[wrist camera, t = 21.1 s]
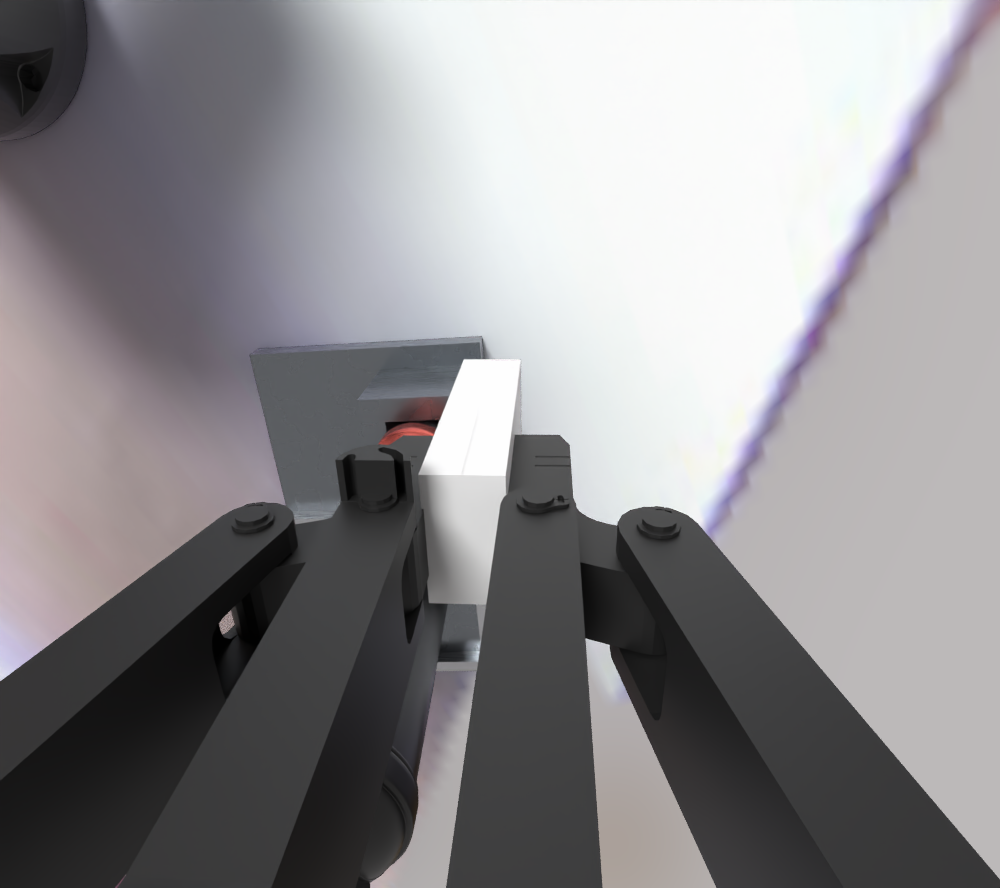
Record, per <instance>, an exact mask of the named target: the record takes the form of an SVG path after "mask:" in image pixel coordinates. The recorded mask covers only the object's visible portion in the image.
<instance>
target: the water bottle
mask: <svg viewBox="0 0 1000 888" xmlns="http://www.w3.org/2000/svg"><path fill="white" fill-rule="evenodd" d="M423 606H424V624H423V628H422V632H421V636H420V640H419V644H418V648H417V652H416V656H415V659H414V663H413V667H412V671H411V675H410V679H409V683H408V687H407V691H406V694H405V698H404V702H403V706H402V710H401V714H400V718H399V722H398V725H397V729H396V733H395V737H394V741H393V745H392V749H391V753H390V757H389V760H388V764H387V768H386V772H385V776H384V780H383V784H382V788H381V792H380V795H379V799H378V803H377V807H376V811H375V815H374V819H373V823H372V827H371V830H370V834H369V838H368V842H367V846H366V850H365V854H364V858H363V862H362V865H361V869H360V873H359V877H358V881H357V885H356V888H370V882H372V881H373V880H375V879H376V878H378V877H379V876H381V875H382V874H383V873H384V872H385V871H386V870H387V869H388V868H389V866H391V865H392V864H394V863H395V862H396V861H397V860H398V859H399V858H400V857H401V856H402V855H403V853H404V852H405V851H406V849H407V847H408V845H409V843H410V841H411V838H412V834H413V830H414V825H415V820H416V815H417V810H418V786H417V775H418V770H419V764H420V758H421V753H422V747H423V742H424V736H425V730H426V725H427V719H428V713H429V708H430V702H431V696H432V691H433V685H434V679H435V674H436V668H437V662H438V657H439V651H440V646H441V640H442V634H443V629H444V623H445V617H446V612H447V606H448V604H443V603H429V598H428V586H427V584H426V588H425V591H424V595H423Z"/></svg>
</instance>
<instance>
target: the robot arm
mask: <svg viewBox="0 0 1000 888" xmlns="http://www.w3.org/2000/svg"><path fill="white" fill-rule="evenodd" d="M86 45H87V30H86V18H85V10H84V5H83V0H0V141H6V140H15V139H20V138H24V137H27V136H30V135H33V134H35V133H37V132H39V131H41V130H43V129H44V128H46V127H47V126H49V125H50V124H51V123H53V122H54V121H55V120H56V119H57V118H58V117H59V116H60V115H61V114H62V113H63V112H64V110H65V109H66V108H67V106H68V105H69V103H70V102H71V100H72V98H73V96H74V94H75V92H76V90H77V88H78V85H79V83H80V80H81V76H82V73H83V68H84V64H85V57H86ZM335 462H336V469H337V476H338V483H339V490H340V497H341V502H340V504H339V506H338V508H337V509H336V511H335V513H334V514H333V516H332V518H328V519H323V520H319V521H313V522H306V523H300V524H295V520H294V514H293V512H292V511H291V510H290V509H289V508H288V507H287V506H284V505H281V504H278V503H265V502H259V503H256V504H255V503H252V504H247V505H245V506H243V507H240V508H237V509H234V510H232V511H230V512H228V513H227V514H225V515H223V516H221V517H220V518H219V519H217V520H216V521H215V522H213V523H212V524H211V525H209V526H208V527H207V528H205V529H204V530H203V531H201V532H200V533H199V534H197V535H196V536H195V537H193V538H192V539H191V540H189V541H188V542H187V543H185V544H184V545H183V546H181V547H180V548H179V549H177V550H176V551H174V552H173V553H172V554H170V555H169V556H168V557H166V558H165V559H164V560H162V561H161V562H160V563H158V564H157V565H156V566H154V567H153V568H152V569H150V570H149V571H148V572H146V573H145V574H144V575H142V576H141V577H140V578H138V579H137V580H136V581H134V582H133V583H132V584H130V585H129V586H128V587H126V588H125V589H124V590H122V591H121V592H120V593H118V594H117V595H116V596H114V597H113V598H112V599H110V600H109V601H107V602H106V603H105V604H103V605H102V606H101V607H99V608H98V609H97V610H95V611H94V612H93V613H91V614H90V615H89V616H87V617H86V618H85V619H83V620H82V621H81V622H79V623H78V624H77V625H75V626H74V627H73V628H71V629H70V630H69V631H67V632H66V633H65V634H63V635H62V636H61V637H59V638H58V639H57V640H55V641H54V642H53V643H51V644H50V645H49V646H47V647H46V648H45V649H43V650H42V651H40V652H39V653H38V654H36V655H35V656H34V657H32V658H31V659H30V660H28V661H27V662H26V663H24V664H23V665H22V666H20V667H19V668H18V669H16V670H15V671H14V672H12V673H11V674H10V675H8V676H7V677H6V678H4V679H3V680H2V681H0V888H115V887H116V886H117V885H118V884H119V882H120V881H121V880H122V879H123V878H124V879H123V880H122V881H121V883H120V884H119V886H118V887H117V888H356V885H357V881H358V877H359V873H360V869H361V865H362V862H363V858H364V854H365V850H366V846H367V842H368V838H369V834H370V830H371V827H372V823H373V819H374V815H375V811H376V807H377V803H378V799H379V795H380V792H381V788H382V784H383V780H384V776H385V772H386V768H387V764H388V760H389V757H390V753H391V749H392V745H393V741H394V737H395V733H396V729H397V725H398V722H399V718H400V714H401V710H402V706H403V702H404V698H405V694H406V691H407V687H408V683H409V679H410V675H411V671H412V667H413V663H414V659H415V656H416V652H417V648H418V644H419V640H420V636H421V632H422V628H423V624H424V606H423V595H424V591H425V588H426V584H427V586H428V598H429V603H443V604H480V605H486V609H485V617H484V624H483V631H482V638H481V645H480V652H479V659H478V666H477V673H476V680H475V687H474V694H473V702H472V709H471V717H470V723H469V730H468V738H467V744H466V751H465V758H464V765H463V773H462V780H461V787H460V794H459V801H458V808H457V815H456V823H455V830H454V836H453V843H452V851H451V857H450V864H449V873H448V879H447V886H446V888H602V875H601V860H600V846H599V831H598V817H597V802H596V789H595V773H594V759H593V744H592V729H591V716H590V701H589V685H588V671H587V656H586V641H585V638H587V639H590V640H594V641H598V642H601V643H605V644H609V645H610V652H611V658H612V660H613V662H614V664H615V667H616V669H617V671H618V673H619V675H620V677H621V680H622V682H623V684H624V686H625V688H626V691H627V693H628V695H629V697H630V699H631V702H632V704H633V706H634V708H635V710H636V712H637V715H638V717H639V719H640V721H641V723H642V726H643V728H644V730H645V732H646V734H647V737H648V739H649V741H650V743H651V745H652V747H653V750H654V752H655V754H656V756H657V758H658V761H659V763H660V765H661V767H662V769H663V772H664V774H665V776H666V778H667V780H668V783H669V785H670V787H671V789H672V791H673V793H674V795H675V798H676V800H677V802H678V804H679V807H680V809H681V811H682V813H683V815H684V818H685V820H686V822H687V824H688V826H689V828H690V830H691V833H692V835H693V837H694V839H695V841H696V844H697V846H698V848H699V850H700V853H701V855H702V857H703V859H704V861H705V863H706V866H707V868H708V870H709V872H710V874H711V877H712V879H713V881H714V883H715V885H716V888H1000V879H999V878H998V877H997V876H996V875H995V873H994V872H993V871H992V870H991V869H990V867H989V866H988V865H987V864H986V863H985V862H984V860H983V859H982V858H981V857H980V856H979V855H978V853H977V852H976V851H975V850H974V849H973V847H972V846H971V845H970V844H969V843H968V842H967V840H966V839H965V838H964V837H963V836H962V834H961V833H960V832H959V831H958V830H957V829H956V828H955V826H954V825H953V824H952V823H951V822H950V820H949V819H948V818H947V817H946V816H945V814H944V813H943V812H942V811H941V810H940V809H939V808H938V806H937V805H936V804H935V803H934V801H933V800H932V799H931V798H930V797H929V796H928V794H927V793H926V792H925V791H924V790H923V789H922V787H921V786H920V785H919V784H918V783H917V781H916V780H915V779H914V778H913V777H912V776H911V774H910V773H909V772H908V771H907V770H906V768H905V767H904V766H903V765H902V764H901V763H900V761H899V760H898V759H897V758H896V757H895V755H894V754H893V753H892V752H891V751H890V750H889V748H888V747H887V746H886V745H885V744H884V743H883V741H882V740H881V739H880V738H879V737H878V735H877V734H876V733H875V732H874V731H873V730H872V728H871V727H870V726H869V725H868V724H867V723H866V721H865V720H864V719H863V718H862V717H861V715H860V714H859V713H858V712H857V711H856V710H855V708H854V707H853V706H852V705H851V704H850V703H849V701H848V700H847V699H846V698H845V697H844V695H843V694H842V693H841V692H840V691H839V690H838V688H837V687H836V686H835V685H834V684H833V682H832V681H831V680H830V679H829V678H828V677H827V675H826V674H825V673H824V672H823V671H822V669H820V667H819V666H818V665H817V664H816V663H815V661H814V660H813V659H812V658H811V657H810V655H809V654H808V653H807V652H806V651H805V649H804V648H803V647H802V646H801V645H800V644H799V643H798V641H797V640H796V639H795V638H794V637H793V635H792V634H791V633H790V632H789V631H788V629H787V628H786V627H785V626H784V625H783V624H782V622H781V621H780V620H779V619H778V618H777V616H776V615H775V614H774V613H773V612H772V611H771V610H770V608H769V607H768V606H767V605H766V604H765V602H764V601H763V600H762V599H761V598H760V597H759V596H758V594H757V593H756V592H755V591H754V589H753V588H752V587H751V586H750V585H749V583H748V582H747V581H746V580H745V579H744V578H743V576H742V575H741V574H740V573H739V572H738V571H737V570H736V568H735V567H734V566H733V565H732V564H731V562H730V561H729V560H728V559H727V558H726V556H725V555H724V554H723V553H722V552H721V551H720V549H719V548H718V547H717V546H716V545H715V543H714V542H713V541H712V540H711V539H710V538H709V536H708V535H707V534H706V533H705V532H704V530H703V529H702V528H701V527H700V526H699V525H698V523H697V522H695V521H694V520H693V519H692V518H690V517H689V516H688V515H686V514H683V513H681V512H678V511H676V510H673V509H670V508H664V507H658V506H655V507H642V508H638V509H633V510H630V511H628V512H627V513H625V514H623V515H622V516H621V518H620V520H619V522H618V526H615V525H610V524H606V523H602V522H599V521H595V520H593V519H591V518H589V517H586V516H585V515H584V514H582V513H581V512H579V510H578V509H577V508H576V503H575V501H574V499H573V489H572V474H571V459H570V445H569V444H568V443H567V442H566V441H565V440H564V439H563V438H562V437H561V436H560V435H521V360H507V359H464V360H463V363H462V365H461V368H460V370H459V373H458V376H457V378H456V381H455V383H454V386H453V388H452V391H451V393H450V396H449V398H448V401H447V403H446V406H445V408H444V411H443V414H442V416H441V419H440V421H439V424H438V426H437V429H436V431H435V434H434V436H410V435H403V436H402V437H400V438H399V439H397V440H396V441H394V442H393V443H391V444H390V445H383V444H379V445H366V446H362V447H358V448H354V449H351V450H349V451H347V452H345V453H343V454H341V455H340V456H339V457H338V458H337V459H336V460H335ZM230 610H231V612H232V616H233V620H234V624H235V625H234V626H233V627H232V628H231V629H230V630H229V631H228V632H227V633H225V634H223V635H222V633H221V631H220V627H219V622H220V621H221V620H222V618H223V617H224V616H225V615H226V614H227V613H228V612H229V611H230ZM125 875H126V876H125ZM124 876H125V877H124Z"/></svg>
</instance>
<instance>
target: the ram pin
mask: <svg viewBox="0 0 1000 888" xmlns="http://www.w3.org/2000/svg"><path fill="white" fill-rule="evenodd" d="M439 421H440V420H422V421H409V422H408V423H405V424H401V425H398V426H396V427H394V428H392V429H391V430H389V431H388V432H387V433H386V434H385V435H384V436H383V437H382V438H381V440H380V442H379V443H378V445H379V444H383V445H390V444H391V443H393V442H394V441H396V440H397V439H399V438H400V437H402V436H403V435H410V436H434V434H435V431H436V429H437V426H438V424H439Z"/></svg>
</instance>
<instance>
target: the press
mask: <svg viewBox="0 0 1000 888" xmlns="http://www.w3.org/2000/svg"><path fill="white" fill-rule="evenodd" d="M250 359H251V363H252V367H253V371H254V375H255V379H256V384H257V388H258V392H259V396H260V400H261V404H262V408H263V412H264V417H265V421H266V425H267V429H268V433H269V437H270V441H271V445H272V450H273V454H274V458H275V462H276V466H277V470H278V474H279V478H280V482H281V487H282V491H283V495H284V499H285V503H286V506H287V507H288V508H289V509H290V510H291V511H292V512H293V514H294V520H295V524H300V523H306V522H313V521H319V520H323V519H328V518H332V516H333V514H334V513H335V511H336V509H337V508H338V506H339V504H340V502H341V497H340V490H339V483H338V476H337V469H336V462H335V460H336V459H337V458H338V457H339V456H340V455H341V454H343V453H345V452H347V451H349V450H351V449H354V448H358V447H362V446H366V445H378V443H379V442H380V440H381V438H382V437H383V436H384V435H385V434H386V433H387V432H388V431H389V430H391V429H392V428H394V427H396V426H398V425H401V424H405V423H408V422H409V421H422V420H440V419H441V416H442V414H443V411H444V408H445V406H446V403H447V401H448V398H449V396H450V393H451V391H452V388H453V386H454V383H455V381H456V378H457V376H458V373H459V370H460V368H461V365H462V363H463V360H464V359H484V355H483V344H482V336H477V337H459V338H441V339H423V340H406V341H388V342H370V343H352V344H334V345H316V346H298V347H281V348H263V349H257V350H256V351H254V352H253V353H252V354H250ZM485 609H486V605H480V604H448V606H447V612H446V617H445V623H444V629H443V634H442V640H441V646H440V651H439V657H438V662H437V668H436V671H477V666H478V659H479V652H480V645H481V638H482V631H483V624H484V617H485Z"/></svg>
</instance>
